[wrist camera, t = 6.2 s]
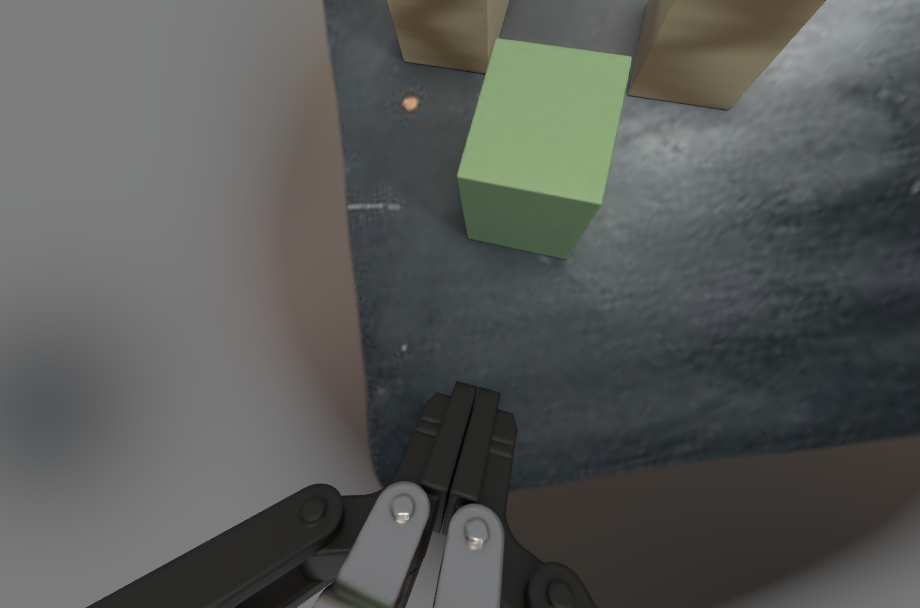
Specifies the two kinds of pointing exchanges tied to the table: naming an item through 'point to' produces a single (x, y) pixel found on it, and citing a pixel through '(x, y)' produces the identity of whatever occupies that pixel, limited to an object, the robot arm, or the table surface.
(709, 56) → the birch block right
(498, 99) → the green block
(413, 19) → the birch block left
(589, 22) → the table surface
